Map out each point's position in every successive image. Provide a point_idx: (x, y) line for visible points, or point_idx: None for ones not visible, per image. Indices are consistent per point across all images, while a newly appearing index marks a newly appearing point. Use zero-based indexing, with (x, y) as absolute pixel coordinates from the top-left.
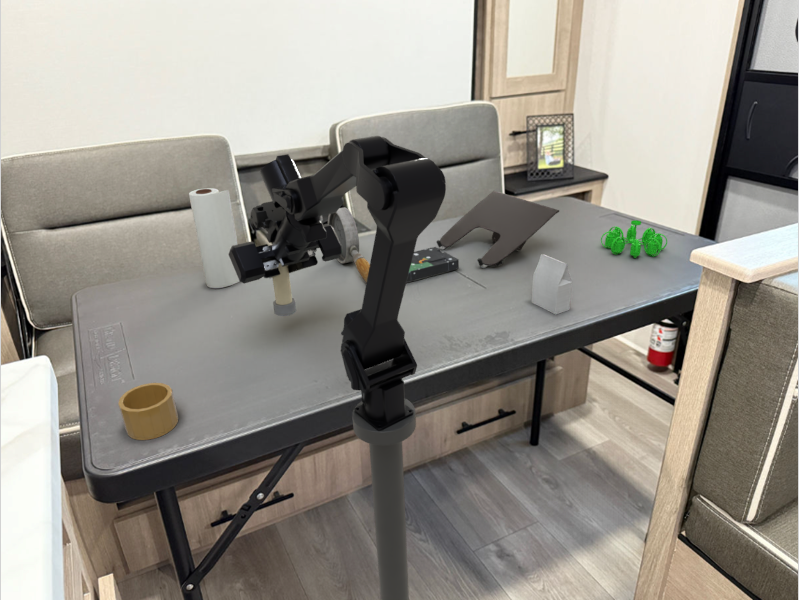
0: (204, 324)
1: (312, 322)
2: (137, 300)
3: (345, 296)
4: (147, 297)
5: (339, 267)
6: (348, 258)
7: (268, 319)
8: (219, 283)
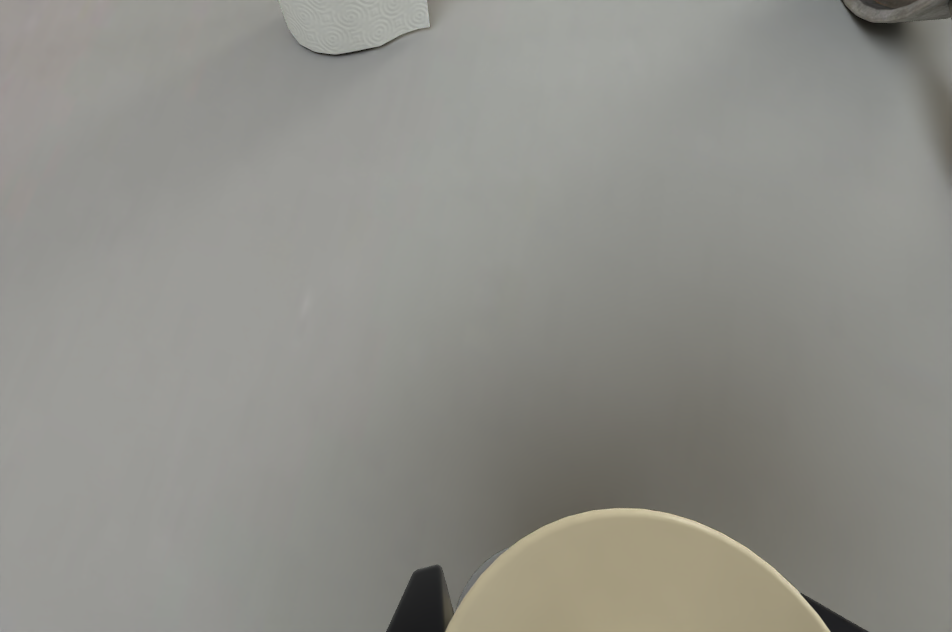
0: (175, 332)
1: None
2: (36, 46)
3: (871, 312)
4: (75, 37)
5: (840, 38)
6: (921, 16)
7: (457, 404)
8: (325, 37)
